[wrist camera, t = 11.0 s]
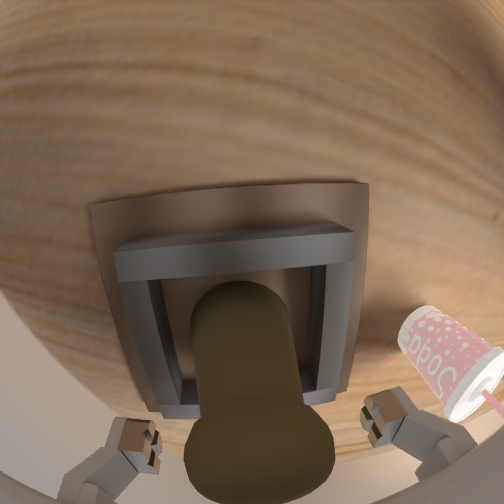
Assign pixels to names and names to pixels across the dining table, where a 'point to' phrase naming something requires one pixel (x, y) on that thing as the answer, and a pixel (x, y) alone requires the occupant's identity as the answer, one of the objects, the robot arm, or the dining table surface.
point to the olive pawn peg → (251, 403)
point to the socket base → (234, 276)
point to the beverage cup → (452, 361)
